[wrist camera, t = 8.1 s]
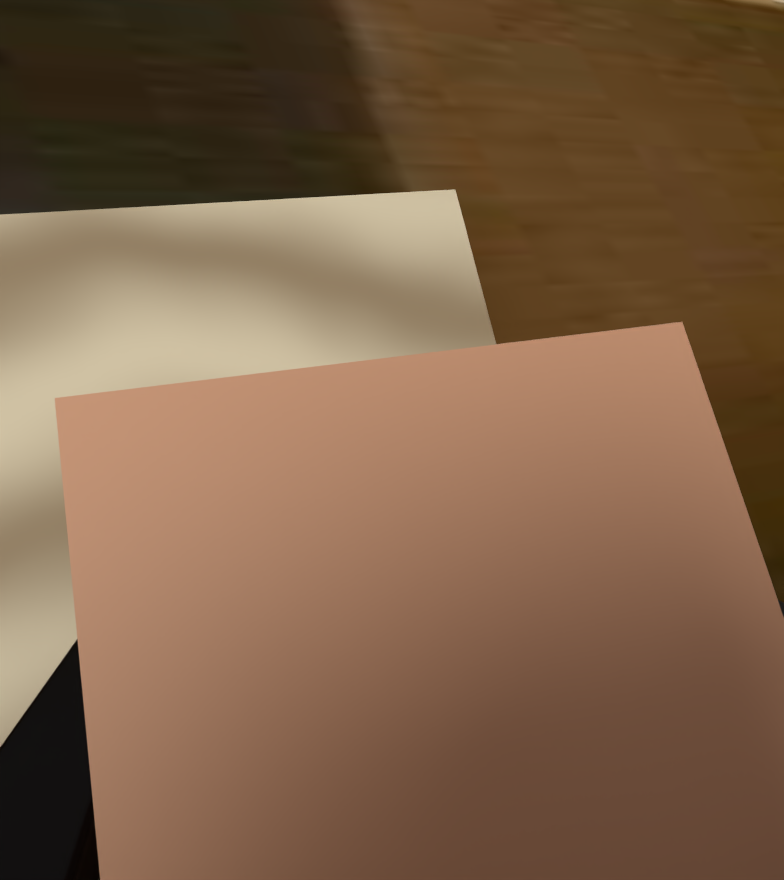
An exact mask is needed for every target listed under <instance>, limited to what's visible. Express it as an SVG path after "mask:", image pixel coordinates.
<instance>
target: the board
mask: <svg viewBox="0 0 784 880" xmlns="http://www.w3.org/2000/svg"><path fill="white" fill-rule="evenodd" d="M488 345H496V342H495V338H494V334H493V330H492V326H491V323H490V319H489V315H488V311H487V308H486V304H485V300H484V296H483V293H482V289H481V285H480V281H479V277H478V274H477V270H476V266H475V262H474V259H473V255H472V251H471V247H470V243H469V240H468V236H467V232H466V228H465V225H464V221H463V217H462V213H461V209H460V206H459V202H458V198H457V194H456V191H455V190H439V191H421V192H403V193H385V194H367V195H349V196H331V197H313V198H295V199H277V200H259V201H241V202H223V203H205V204H187V205H169V206H151V207H133V208H115V209H97V210H79V211H61V212H43V213H25V214H7V215H0V747H1V745H2V744H3V743H4V741H5V740H6V738H7V737H8V735H9V734H10V733H11V731H12V730H13V728H14V727H15V726H16V724H17V723H18V721H19V720H20V719H21V717H22V716H23V714H24V713H25V712H26V710H27V709H28V707H29V706H30V705H31V703H32V702H33V700H34V699H35V697H36V696H37V695H38V693H39V692H40V690H41V689H42V688H43V686H44V685H45V683H46V682H47V681H48V679H49V678H50V676H51V675H52V674H53V672H54V671H55V669H56V668H57V667H58V665H59V664H60V662H61V661H62V659H63V658H64V657H65V655H66V654H67V652H68V651H69V650H70V648H71V647H72V645H73V644H74V643H75V641H76V640H77V629H76V619H75V608H74V598H73V587H72V576H71V566H70V555H69V545H68V534H67V524H66V513H65V503H64V492H63V482H62V471H61V460H60V450H59V439H58V429H57V418H56V408H55V398H59V397H68V396H76V395H84V394H92V393H101V392H109V391H117V390H125V389H134V388H142V387H150V386H158V385H166V384H175V383H183V382H191V381H199V380H208V379H216V378H224V377H232V376H241V375H249V374H257V373H265V372H274V371H282V370H290V369H298V368H306V367H315V366H323V365H331V364H339V363H348V362H356V361H364V360H372V359H381V358H389V357H397V356H405V355H414V354H422V353H430V352H438V351H446V350H455V349H463V348H471V347H479V346H488Z"/></svg>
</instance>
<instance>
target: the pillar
mask: <svg viewBox="0 0 784 880" xmlns="http://www.w3.org/2000/svg"><path fill="white" fill-rule="evenodd" d="M55 408H56V418H57V429H58V439H59V450H60V460H61V471H62V482H63V492H64V503H65V513H66V524H67V534H68V545H69V555H70V566H71V576H72V587H73V598H74V608H75V619H76V629H77V640H78V650H79V661H80V671H81V682H82V692H83V703H84V714H85V724H86V735H87V745H88V756H89V766H90V777H91V787H92V798H93V809H94V819H95V830H96V840H97V851H98V861H99V872H100V880H784V617H783V614H782V611H781V608H780V605H779V602H778V599H777V596H776V594H775V591H774V588H773V585H772V582H771V579H770V576H769V573H768V570H767V567H766V564H765V562H764V559H763V556H762V553H761V550H760V547H759V544H758V541H757V538H756V535H755V532H754V530H753V527H752V524H751V521H750V518H749V515H748V512H747V509H746V506H745V503H744V500H743V498H742V495H741V492H740V489H739V486H738V483H737V480H736V477H735V474H734V471H733V468H732V465H731V463H730V460H729V457H728V454H727V451H726V448H725V445H724V442H723V439H722V436H721V433H720V431H719V428H718V425H717V422H716V419H715V416H714V413H713V410H712V407H711V404H710V401H709V399H708V396H707V393H706V390H705V387H704V384H703V381H702V378H701V375H700V372H699V369H698V366H697V364H696V361H695V358H694V355H693V352H692V349H691V346H690V343H689V340H688V337H687V334H686V332H685V329H684V326H683V323H682V322H677V323H669V324H661V325H652V326H644V327H636V328H628V329H619V330H611V331H603V332H595V333H587V334H578V335H570V336H562V337H554V338H545V339H537V340H529V341H521V342H512V343H504V344H496V345H488V346H479V347H471V348H463V349H455V350H446V351H438V352H430V353H422V354H414V355H405V356H397V357H389V358H381V359H372V360H364V361H356V362H348V363H339V364H331V365H323V366H315V367H306V368H298V369H290V370H282V371H274V372H265V373H257V374H249V375H241V376H232V377H224V378H216V379H208V380H199V381H191V382H183V383H175V384H166V385H158V386H150V387H142V388H134V389H125V390H117V391H109V392H101V393H92V394H84V395H76V396H68V397H59V398H55Z"/></svg>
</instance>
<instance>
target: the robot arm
mask: <svg viewBox="0 0 784 880" xmlns="http://www.w3.org/2000/svg"><path fill="white" fill-rule="evenodd" d="M778 602H779V605H780V608H781V611H782V614H783V617H784V603H783V602H781V601H779V600H778ZM0 880H100V872H99V861H98V851H97V840H96V830H95V819H94V809H93V798H92V787H91V777H90V766H89V756H88V745H87V735H86V724H85V714H84V703H83V692H82V682H81V671H80V661H79V650H78V640H76V641H75V643H74V644H73V645H72V647H71V648H70V650H69V651H68V652H67V654H66V655H65V657H64V658H63V659H62V661H61V662H60V664H59V665H58V667H57V668H56V669H55V671H54V672H53V674H52V675H51V676H50V678H49V679H48V681H47V682H46V683H45V685H44V686H43V688H42V689H41V690H40V692H39V693H38V695H37V696H36V697H35V699H34V700H33V702H32V703H31V705H30V706H29V707H28V709H27V710H26V712H25V713H24V714H23V716H22V717H21V719H20V720H19V721H18V723H17V724H16V726H15V727H14V728H13V730H12V731H11V733H10V734H9V735H8V737H7V738H6V740H5V741H4V743H3V744H2V745H1V747H0Z"/></svg>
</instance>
